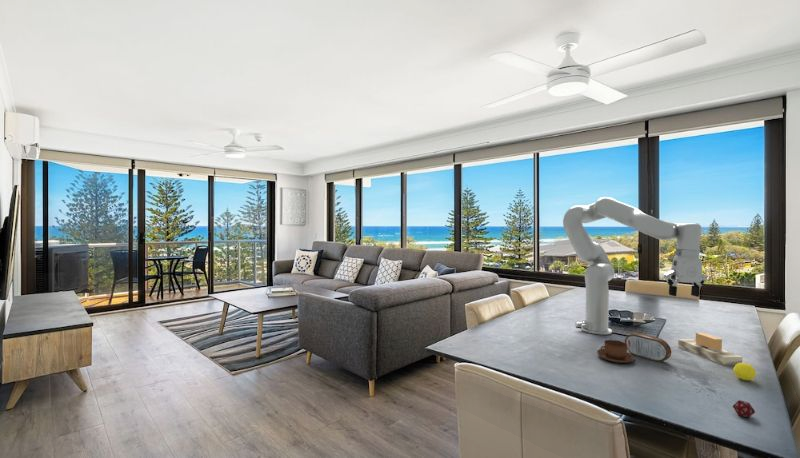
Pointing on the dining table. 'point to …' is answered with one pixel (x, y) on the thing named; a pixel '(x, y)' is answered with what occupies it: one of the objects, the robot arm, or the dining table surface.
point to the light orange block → (709, 342)
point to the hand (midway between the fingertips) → (683, 295)
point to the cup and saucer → (615, 352)
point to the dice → (743, 409)
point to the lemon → (744, 371)
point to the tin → (648, 347)
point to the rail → (710, 352)
